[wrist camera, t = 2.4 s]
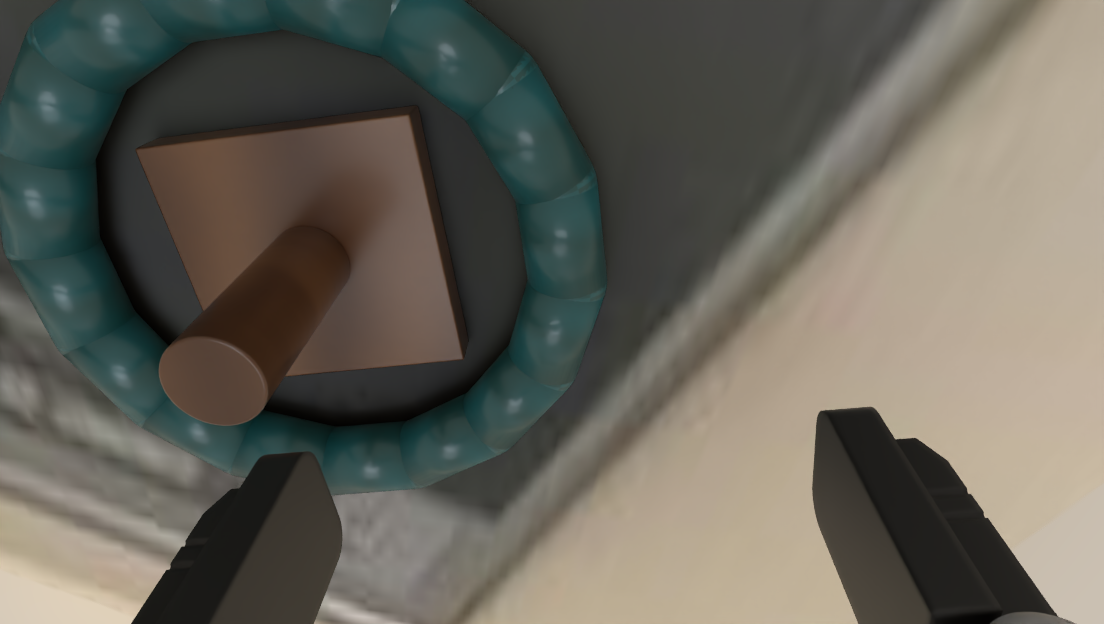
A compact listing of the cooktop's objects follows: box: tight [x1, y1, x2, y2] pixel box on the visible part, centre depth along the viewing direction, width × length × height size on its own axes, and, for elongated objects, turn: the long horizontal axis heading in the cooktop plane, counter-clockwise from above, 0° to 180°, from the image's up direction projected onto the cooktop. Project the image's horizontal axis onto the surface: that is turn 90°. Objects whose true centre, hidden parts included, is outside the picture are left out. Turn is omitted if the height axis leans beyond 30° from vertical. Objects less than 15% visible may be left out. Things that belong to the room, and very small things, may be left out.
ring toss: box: [136, 106, 469, 426], centre depth 19 cm, size 8×8×8 cm
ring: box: [0, 0, 607, 495], centre depth 21 cm, size 18×18×2 cm
